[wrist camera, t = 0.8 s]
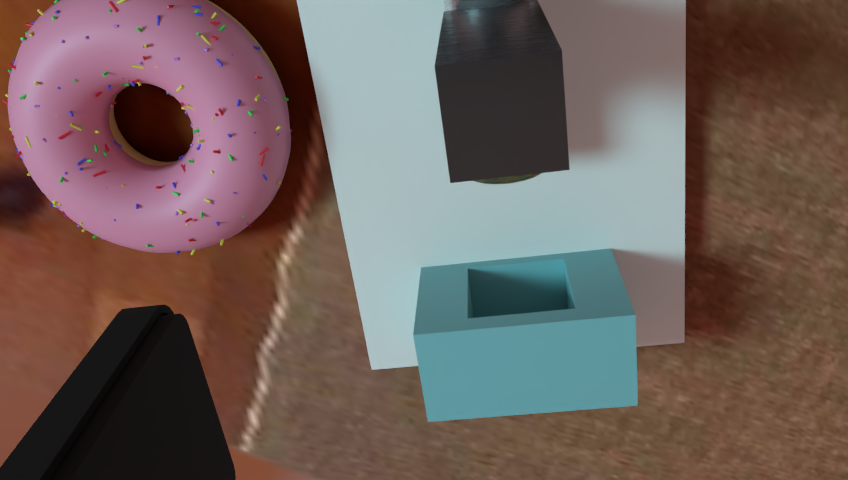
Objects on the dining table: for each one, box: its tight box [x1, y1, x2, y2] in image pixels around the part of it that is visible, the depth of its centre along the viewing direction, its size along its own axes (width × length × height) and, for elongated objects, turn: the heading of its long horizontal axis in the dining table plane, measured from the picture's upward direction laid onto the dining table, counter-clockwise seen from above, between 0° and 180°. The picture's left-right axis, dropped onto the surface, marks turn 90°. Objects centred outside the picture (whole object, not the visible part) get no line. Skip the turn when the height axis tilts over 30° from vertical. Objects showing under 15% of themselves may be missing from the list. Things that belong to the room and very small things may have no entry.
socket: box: [413, 248, 638, 422], centre depth 31 cm, size 4×8×5 cm, turn 98°
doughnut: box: [3, 0, 292, 255], centre depth 30 cm, size 11×11×4 cm
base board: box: [297, 0, 686, 370], centre depth 29 cm, size 30×14×1 cm, turn 8°
